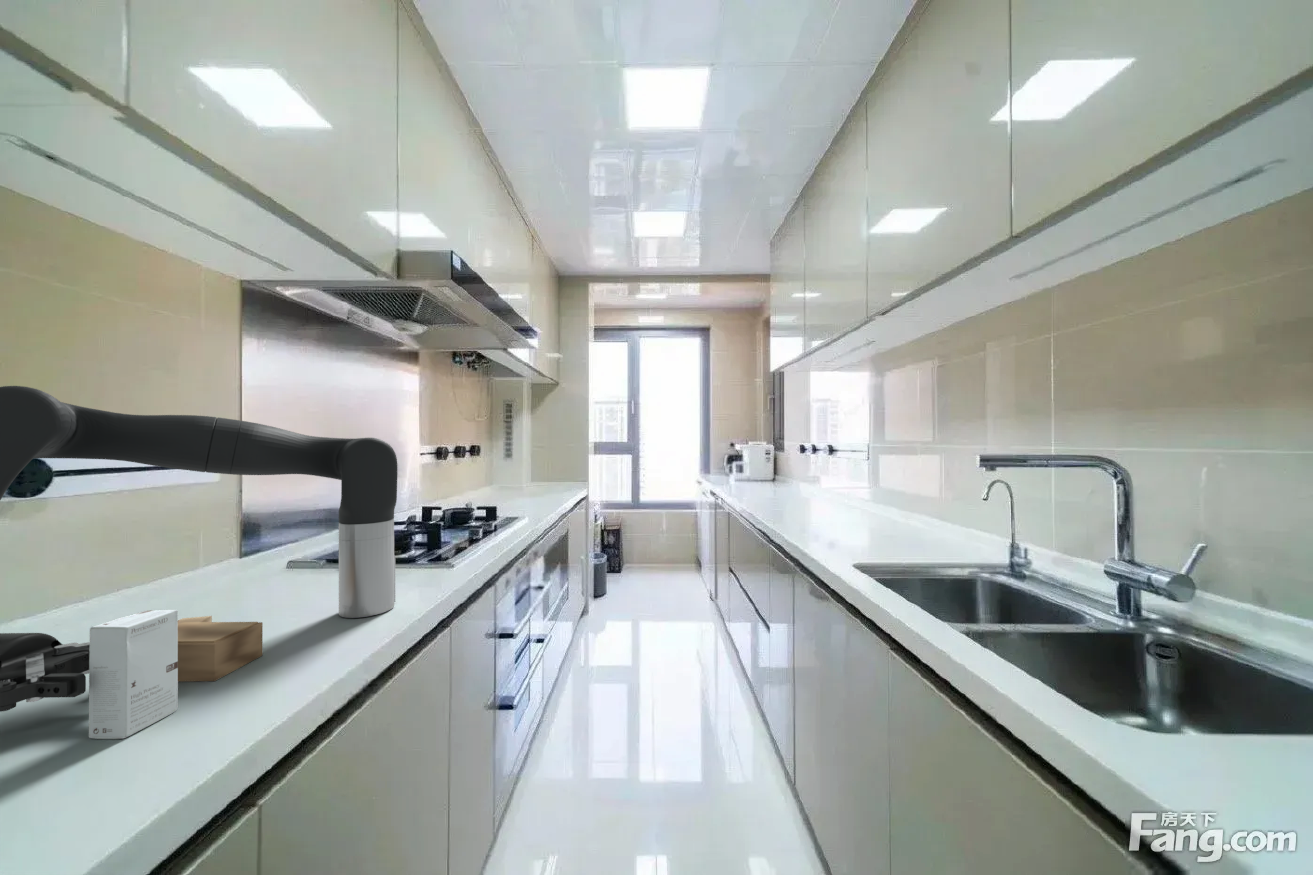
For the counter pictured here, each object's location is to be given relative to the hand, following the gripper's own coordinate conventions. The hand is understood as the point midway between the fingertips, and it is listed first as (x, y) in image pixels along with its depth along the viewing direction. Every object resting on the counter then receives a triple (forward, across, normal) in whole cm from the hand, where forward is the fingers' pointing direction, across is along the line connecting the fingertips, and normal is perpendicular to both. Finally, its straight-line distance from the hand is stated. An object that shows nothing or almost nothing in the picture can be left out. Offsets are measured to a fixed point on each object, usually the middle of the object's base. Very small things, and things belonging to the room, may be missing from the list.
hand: (126, 666), depth 56 cm
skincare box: (+1, 0, +7) cm, 7 cm away
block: (-14, +22, +7) cm, 27 cm away
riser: (-5, +14, +6) cm, 16 cm away
